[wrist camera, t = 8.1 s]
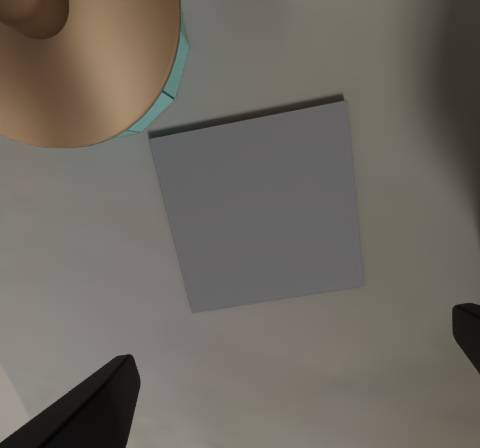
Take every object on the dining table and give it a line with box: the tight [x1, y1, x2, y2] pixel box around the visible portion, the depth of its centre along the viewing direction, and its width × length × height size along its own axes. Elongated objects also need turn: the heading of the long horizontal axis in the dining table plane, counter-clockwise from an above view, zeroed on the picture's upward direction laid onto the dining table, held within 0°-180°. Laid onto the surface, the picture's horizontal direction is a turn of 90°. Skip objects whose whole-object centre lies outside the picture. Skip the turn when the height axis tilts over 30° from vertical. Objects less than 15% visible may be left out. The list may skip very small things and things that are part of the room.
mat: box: [149, 100, 364, 313], centre depth 20 cm, size 12×12×1 cm
